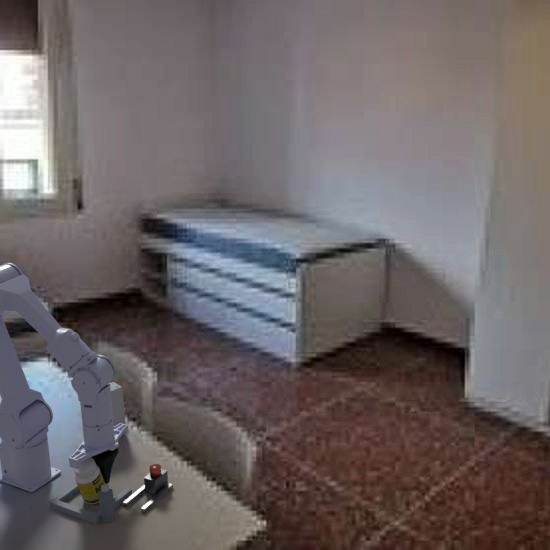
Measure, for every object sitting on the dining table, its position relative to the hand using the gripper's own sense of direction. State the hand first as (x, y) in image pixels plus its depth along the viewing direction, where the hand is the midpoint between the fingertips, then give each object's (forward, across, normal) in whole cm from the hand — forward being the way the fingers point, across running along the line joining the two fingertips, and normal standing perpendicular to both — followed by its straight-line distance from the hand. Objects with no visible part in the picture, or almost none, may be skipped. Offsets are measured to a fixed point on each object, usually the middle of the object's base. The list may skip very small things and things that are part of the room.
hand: (103, 482), depth 132 cm
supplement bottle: (+1, -2, 0) cm, 3 cm away
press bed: (+2, -4, -1) cm, 4 cm away
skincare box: (+2, +17, +13) cm, 22 cm away
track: (+2, +2, -9) cm, 9 cm away
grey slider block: (+2, +5, -9) cm, 10 cm away
